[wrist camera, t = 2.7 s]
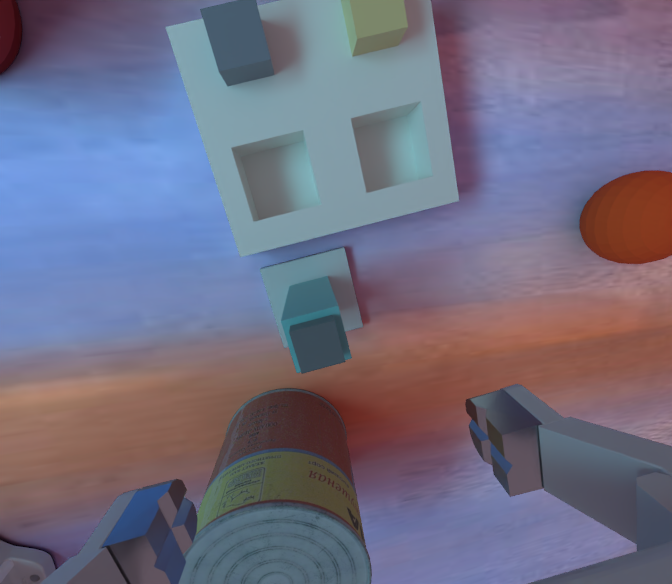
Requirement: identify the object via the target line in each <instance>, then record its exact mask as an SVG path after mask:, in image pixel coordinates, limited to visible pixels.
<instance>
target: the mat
mask: <svg viewBox="0 0 672 584" xmlns="http://www.w3.org/2000/svg"><path fill="white" fill-rule="evenodd" d="M260 272H261V275H262V278H263V281H264V285H265V288H266V291H267V294H268V297H269V301H270V304H271V307H272V310H273V313H274V317H275V320H276V323H277V326H278V329H279V333H280V336H281V339H282V342H283V345H284V348H286V347H289V346H288V343H287V340H286V336H285V333H284V330H283V327H282V323H281V318H282V314H283V310H284V306H285V302H286V298H287V294H288V290H289V286H291V285H295V284H299V283H302V282H306V281H310V280H314V279H318V278H322V277H325V276H328V279H329V282H330V284H331V287H332V290H333V293H334V295H335V298H336V301H337V303H338V306H339V310H340V314H341V318H342V322H343V326H344V330H345V332H346V331H349V330H353V329H357V328H361V327H363V323H362V319H361V315H360V311H359V307H358V303H357V298H356V294H355V290H354V286H353V282H352V278H351V273H350V269H349V265H348V261H347V257H346V252H345V248H344V247H341V248H337V249H334V250H330V251H326V252H322V253H318V254H314V255H310V256H307V257H303V258H299V259H295V260H291V261H287V262H283V263H280V264H276V265H272V266H268V267H264V268H261V269H260Z"/></svg>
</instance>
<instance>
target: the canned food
mask: <svg viewBox="0 0 672 584" xmlns="http://www.w3.org/2000/svg"><path fill="white" fill-rule="evenodd" d="M197 518H198V520H197V532H196V535H195V538H194V541H193V544H192V545H191V546H190V547H189V548H188V550H187V551H186V552H185V553H184V557H185V560H186V564H185V567H184V570H183V573H182V575H181V578H180V581H179V584H371V576H372V572H371V563H370V558H369V554H368V551H367V549H366V545H365V539H364V534H363V528H362V523H361V517H360V512H359V506H358V501H357V495H356V490H355V484H354V479H353V473H352V468H351V462H350V457H349V451H348V446H347V436H346V429H345V425H344V422H343V420H342V418H341V416H340V414H339V413H338V412H337V410H336V409H335V408H334V407H333V406H332V405H331V404H330V403H329V402H328V401H326V400H325V399H324V398H322V397H320V396H319V395H316V394H314V393H312V392H309V391H305V390H300V389H291V388H287V389H276V390H271V391H268V392H265V393H262V394H260V395H258V396H256V397H254V398H252V399H251V400H249V401H248V402H246V403H245V404H244V405H243V406H242V407H241V408H240V409H239V410H238V411H237V412H236V414H235V415H234V416H233V418H232V420H231V422H230V424H229V426H228V429H227V433H226V438H225V440H224V443H223V446H222V449H221V451H220V454H219V457H218V459H217V462H216V465H215V468H214V470H213V473H212V476H211V478H210V481H209V484H208V487H207V489H206V492H205V495H204V498H203V500H202V503H201V506H200V508H199V511H198V514H197Z"/></svg>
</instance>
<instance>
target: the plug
mask: <svg viewBox="0 0 672 584" xmlns="http://www.w3.org/2000/svg"><path fill="white" fill-rule="evenodd" d="M281 323H282V327H283V330H284V333H285V336H286V340H287V343H288V346H289V349H290V353H291V356H292V359H293V362H294V365H295V369H296V372H297V373H299V372H301V373H306V372H310V371H313V370H317V369H321V368H324V367H328V366H332V365H335V364H339V363H343V362H345V360H347V359H351V358H352V357H351V353H350V349H349V345H348V341H347V338H346V334H345V330H344V326H343V322H342V318H341V314H340V310H339V306H338V303H337V301H336V298H335V295H334V293H333V290H332V287H331V284H330V282H329V279H328V276H325V277H322V278H318V279H314V280H310V281H306V282H302V283H299V284H295V285H291V286H289V290H288V294H287V298H286V302H285V306H284V310H283V314H282V318H281Z"/></svg>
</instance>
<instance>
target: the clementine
mask: <svg viewBox="0 0 672 584" xmlns="http://www.w3.org/2000/svg"><path fill="white" fill-rule="evenodd" d="M580 231H581V235H582V238H583V240H584V242H585V243H586V245H587V246H588V247H589V248H590V249H591V250H592V251H593V252H595V253H596V254H597V255H599V256H600V257H603V258H605V259H607V260H610V261H614V262H617V263H626V264H642V263H647V262H652V261H656V260H660V259H664V258H666V257H668V256H670V255H672V173H671V172H665V171H641V172H635V173H631V174H628V175H624V176H621V177H619V178H617V179H615V180H613V181H611V182H609V183H607V184H606V185H604V186H603V187H601V188H600V189H599V190H598V191H596V192H595V193H594V194H593V196H592V197H591V198H590V199H589V201H588V202H587V203H586V205H585V207H584V209H583V211H582V213H581V217H580Z"/></svg>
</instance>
